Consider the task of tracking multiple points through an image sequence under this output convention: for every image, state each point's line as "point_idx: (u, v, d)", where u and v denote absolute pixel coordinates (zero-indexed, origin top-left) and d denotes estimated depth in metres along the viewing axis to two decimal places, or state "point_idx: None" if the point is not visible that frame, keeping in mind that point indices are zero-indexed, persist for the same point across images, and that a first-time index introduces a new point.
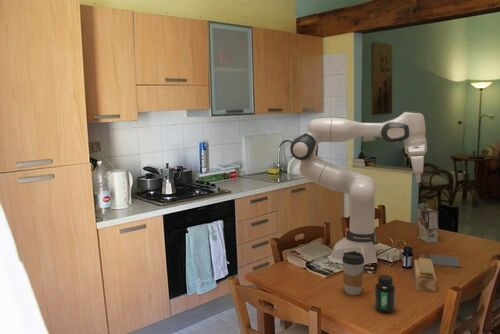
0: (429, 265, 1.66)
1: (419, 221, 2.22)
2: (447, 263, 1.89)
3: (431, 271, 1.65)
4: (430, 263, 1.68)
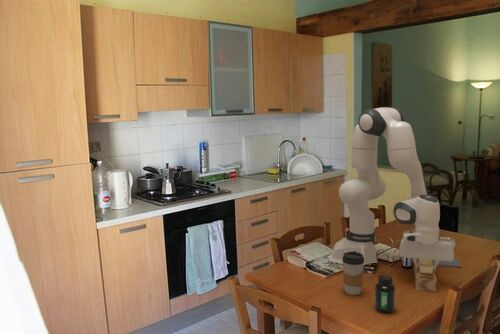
0: (429, 265, 1.66)
1: None
2: (447, 263, 1.89)
3: (431, 271, 1.65)
4: (430, 263, 1.68)
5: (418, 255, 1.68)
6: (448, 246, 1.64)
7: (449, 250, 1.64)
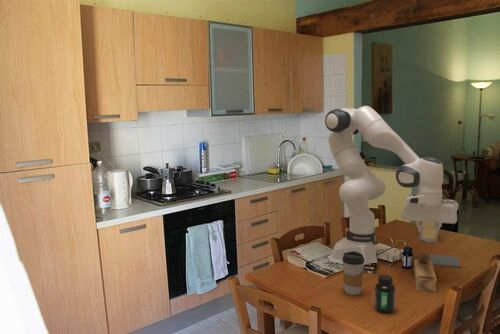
0: (432, 227, 1.65)
1: None
2: (447, 263, 1.89)
3: (434, 233, 1.64)
4: (433, 226, 1.67)
5: (421, 218, 1.67)
6: (451, 208, 1.63)
7: (452, 212, 1.63)
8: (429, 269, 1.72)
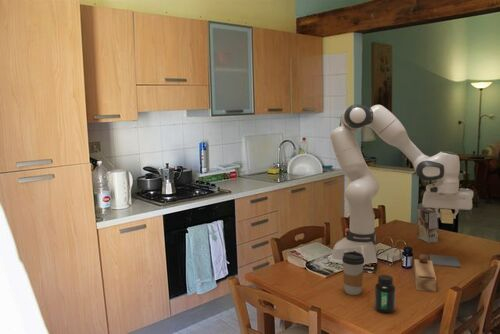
0: (450, 213, 1.86)
1: (419, 221, 2.22)
2: (447, 263, 1.89)
3: (452, 218, 1.84)
4: (451, 212, 1.88)
5: (440, 205, 1.88)
6: (467, 196, 1.84)
7: (468, 199, 1.84)
8: (429, 269, 1.72)
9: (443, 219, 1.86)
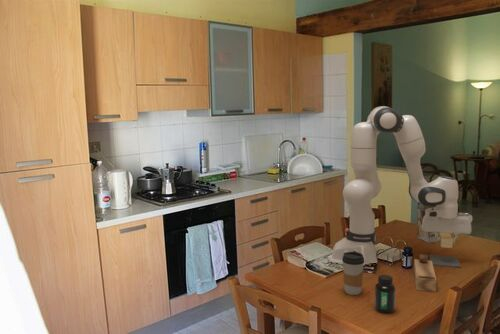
0: (449, 238, 1.87)
1: (419, 221, 2.22)
2: (447, 263, 1.89)
3: (451, 243, 1.86)
4: (450, 236, 1.89)
5: (439, 229, 1.89)
6: (466, 220, 1.85)
7: (467, 224, 1.86)
8: (429, 269, 1.72)
9: (442, 243, 1.87)
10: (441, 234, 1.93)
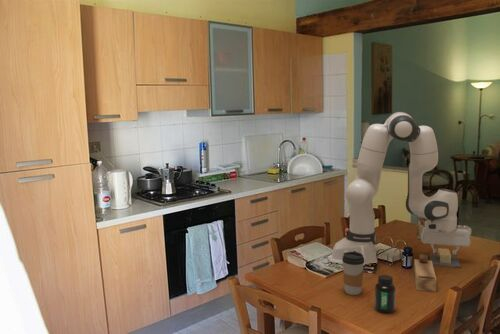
0: (448, 254, 1.89)
1: (419, 221, 2.22)
2: None
3: (450, 259, 1.87)
4: (448, 252, 1.91)
5: (438, 241, 1.90)
6: (465, 233, 1.86)
7: (466, 236, 1.86)
8: (429, 269, 1.72)
9: (441, 260, 1.89)
10: (440, 250, 1.94)
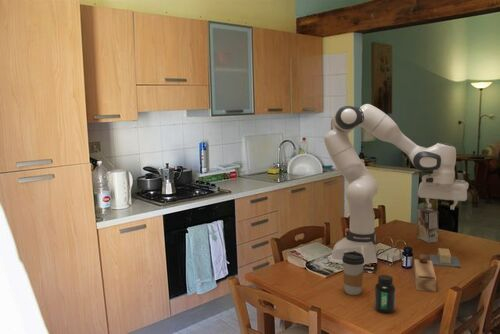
0: (448, 254, 1.89)
1: (419, 221, 2.22)
2: None
3: (450, 259, 1.87)
4: (448, 252, 1.91)
5: (435, 195, 1.90)
6: (462, 187, 1.86)
7: (462, 190, 1.86)
8: (429, 269, 1.72)
9: (441, 260, 1.89)
10: (440, 250, 1.94)
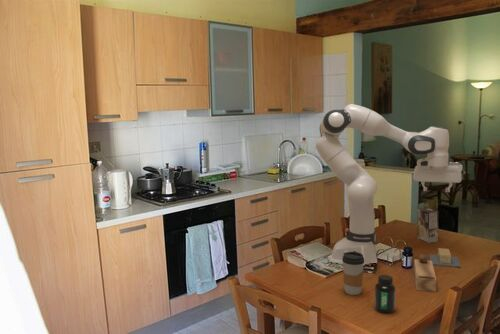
0: (448, 254, 1.89)
1: (419, 221, 2.22)
2: None
3: (450, 259, 1.87)
4: (448, 252, 1.91)
5: (430, 178, 1.93)
6: (456, 169, 1.89)
7: (457, 172, 1.89)
8: (429, 269, 1.72)
9: (441, 260, 1.89)
10: (440, 250, 1.94)
